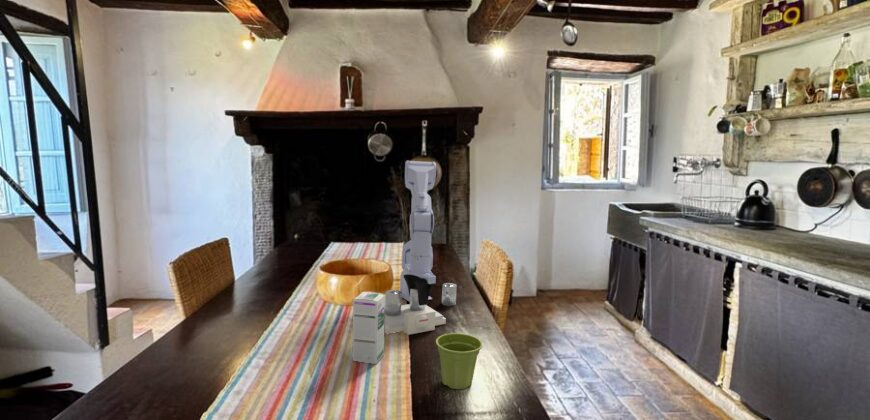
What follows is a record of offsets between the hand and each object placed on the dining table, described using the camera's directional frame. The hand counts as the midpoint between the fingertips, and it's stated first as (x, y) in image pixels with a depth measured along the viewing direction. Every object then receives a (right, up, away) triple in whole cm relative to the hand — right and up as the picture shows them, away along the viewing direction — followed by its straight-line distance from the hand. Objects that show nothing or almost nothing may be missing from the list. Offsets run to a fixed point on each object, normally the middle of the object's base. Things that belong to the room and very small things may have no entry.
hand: (418, 301), depth 126 cm
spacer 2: (0, -2, 0) cm, 2 cm away
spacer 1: (-7, -2, -4) cm, 8 cm away
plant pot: (+9, -10, -34) cm, 37 cm away
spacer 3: (+9, -3, +14) cm, 17 cm away
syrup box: (-10, -8, -25) cm, 28 cm away
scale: (-2, -5, -4) cm, 7 cm away
